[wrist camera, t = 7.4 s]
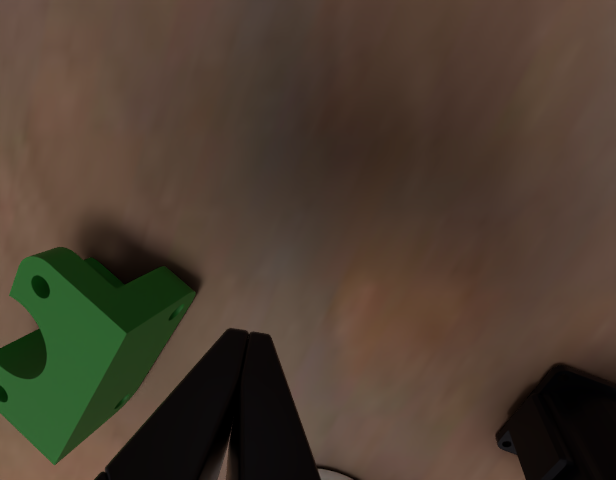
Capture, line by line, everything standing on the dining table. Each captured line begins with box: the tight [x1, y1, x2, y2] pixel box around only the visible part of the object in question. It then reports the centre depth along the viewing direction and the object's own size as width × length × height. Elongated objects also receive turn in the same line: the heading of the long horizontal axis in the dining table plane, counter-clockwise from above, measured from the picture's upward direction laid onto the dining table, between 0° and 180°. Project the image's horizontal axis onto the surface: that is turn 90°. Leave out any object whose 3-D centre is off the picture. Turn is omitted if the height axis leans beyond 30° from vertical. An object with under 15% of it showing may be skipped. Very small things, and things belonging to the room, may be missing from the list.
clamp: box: [0, 247, 196, 465], centre depth 22 cm, size 12×6×9 cm, turn 142°
